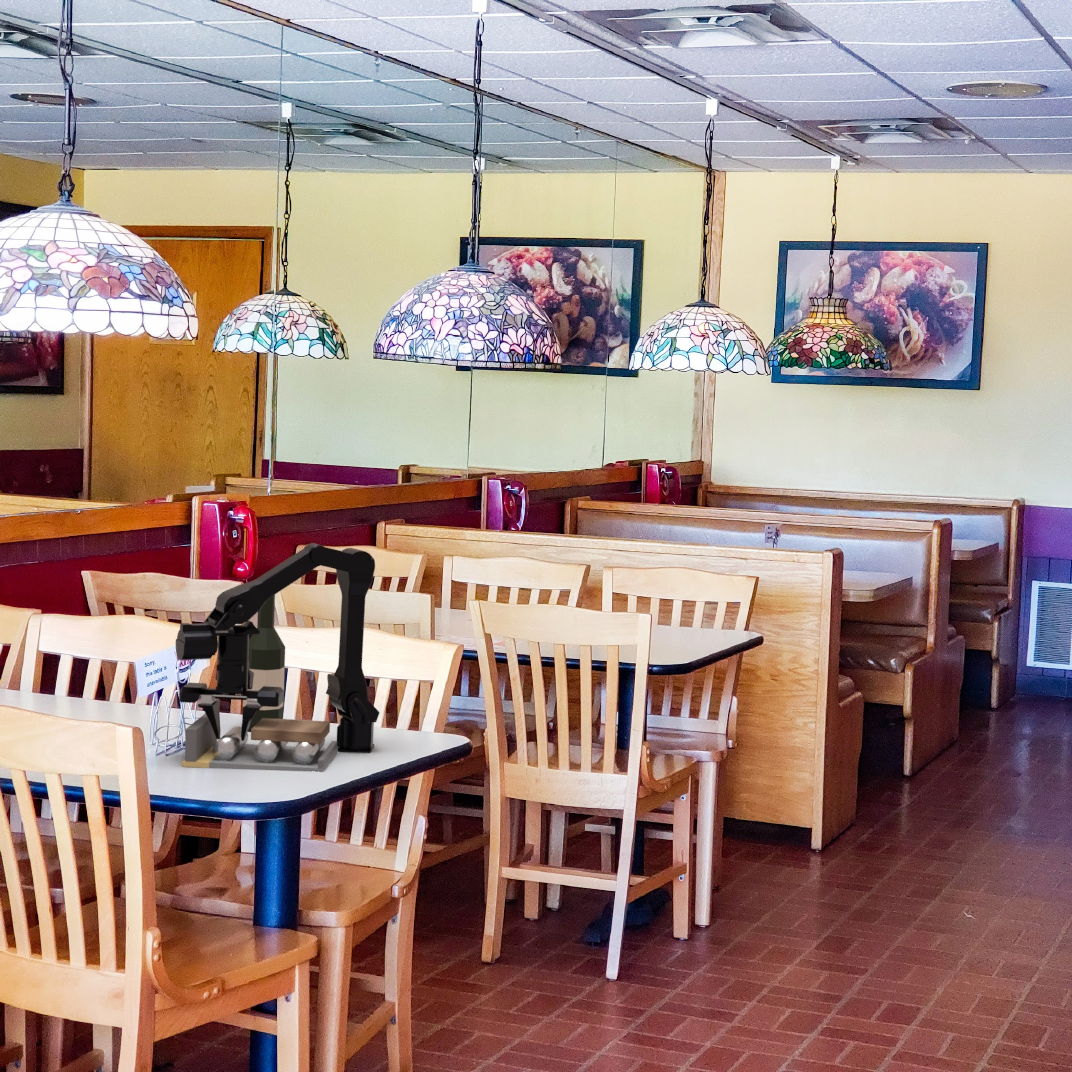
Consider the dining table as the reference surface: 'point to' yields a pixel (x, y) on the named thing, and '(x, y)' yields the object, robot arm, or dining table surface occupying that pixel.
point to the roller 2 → (268, 750)
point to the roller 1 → (229, 744)
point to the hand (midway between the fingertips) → (230, 739)
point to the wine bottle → (266, 660)
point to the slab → (290, 730)
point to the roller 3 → (306, 752)
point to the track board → (244, 753)
